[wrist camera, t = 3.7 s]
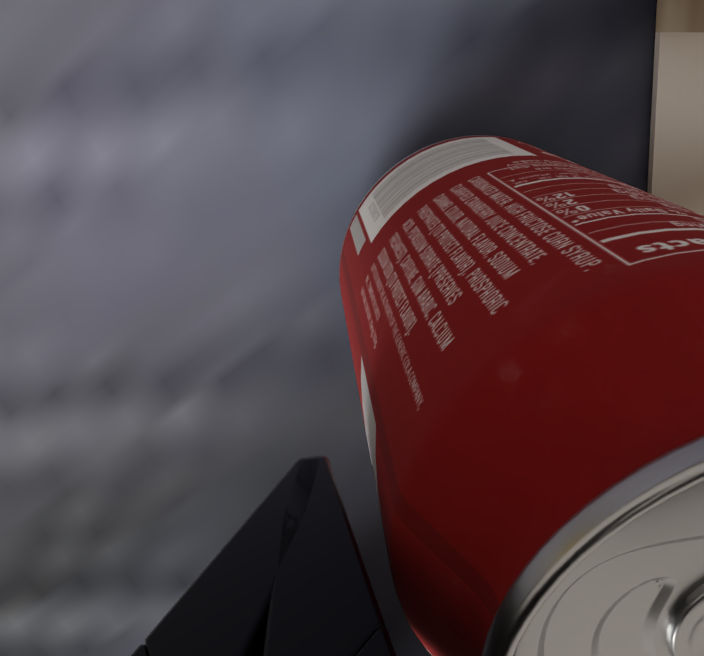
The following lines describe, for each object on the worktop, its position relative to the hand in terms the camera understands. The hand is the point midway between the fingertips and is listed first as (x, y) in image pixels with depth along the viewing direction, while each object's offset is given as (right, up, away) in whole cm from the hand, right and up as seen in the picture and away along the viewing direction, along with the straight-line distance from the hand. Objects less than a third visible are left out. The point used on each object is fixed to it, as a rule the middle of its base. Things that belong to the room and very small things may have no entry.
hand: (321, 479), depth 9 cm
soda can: (+3, +4, +8) cm, 9 cm away
